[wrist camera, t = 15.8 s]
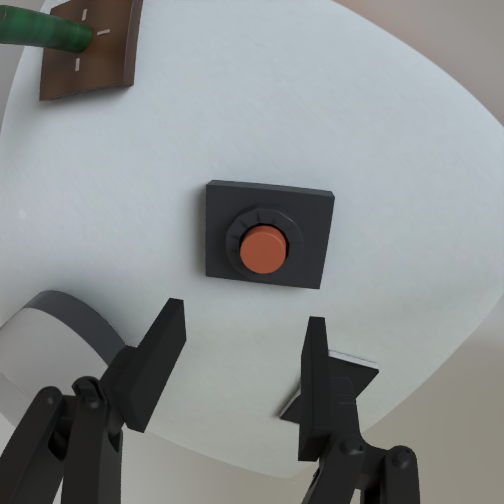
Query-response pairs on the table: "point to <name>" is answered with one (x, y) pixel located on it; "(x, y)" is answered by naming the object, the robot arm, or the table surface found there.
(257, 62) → the table surface
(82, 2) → the dial base
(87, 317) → the planter
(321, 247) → the button box
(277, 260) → the button
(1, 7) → the dial knob
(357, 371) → the smartphone
